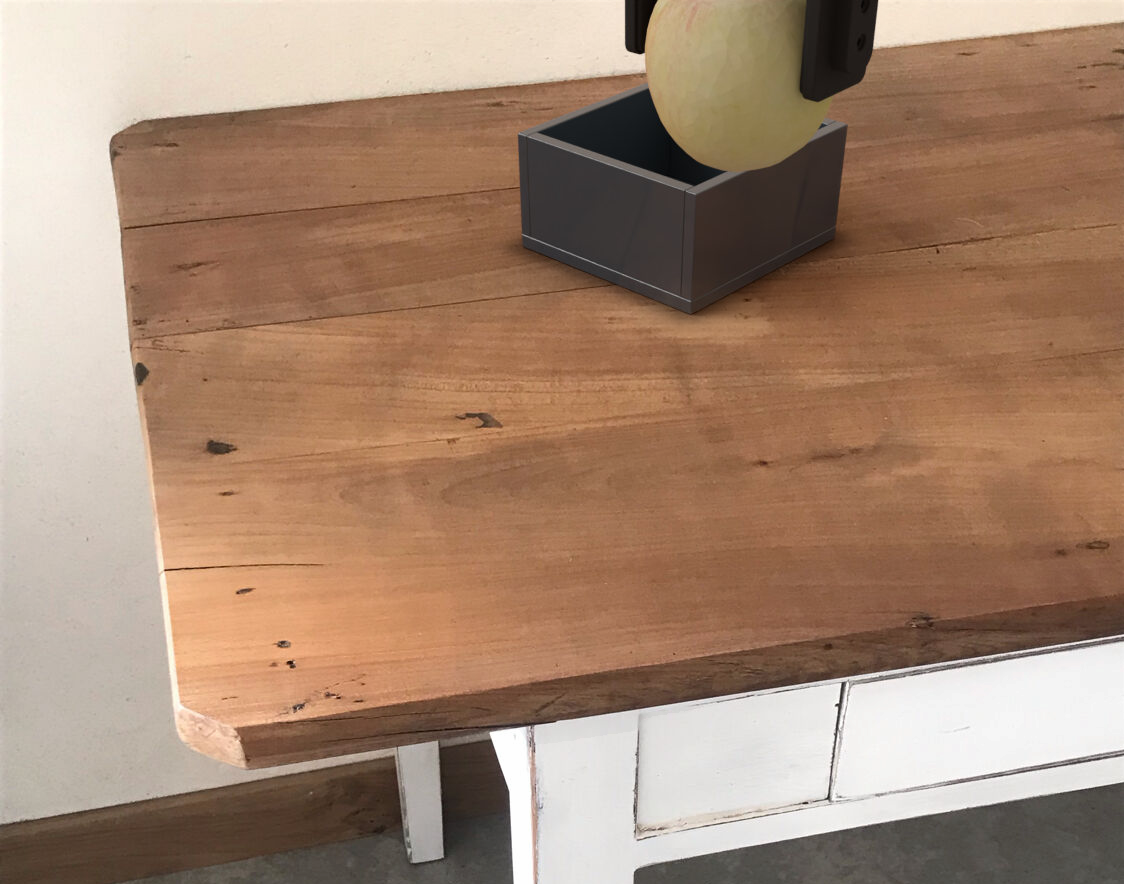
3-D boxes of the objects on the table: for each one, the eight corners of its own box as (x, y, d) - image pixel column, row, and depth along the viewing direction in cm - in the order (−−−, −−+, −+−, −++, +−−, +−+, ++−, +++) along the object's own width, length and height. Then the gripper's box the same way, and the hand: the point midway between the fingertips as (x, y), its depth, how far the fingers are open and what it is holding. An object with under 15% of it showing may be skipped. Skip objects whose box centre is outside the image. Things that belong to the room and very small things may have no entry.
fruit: (875, 156, 54) (902, -78, 48) (739, 211, 50) (752, -32, 45) (736, 107, 58) (747, -113, 52) (603, 155, 55) (600, -74, 49)
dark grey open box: (835, 238, 85) (848, 123, 80) (690, 314, 78) (696, 194, 73) (667, 181, 92) (671, 72, 87) (521, 246, 85) (517, 132, 80)
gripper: (1120, -602, 37) (999, 88, 49) (634, -579, 46) (634, 0, 58) (969, -594, 33) (878, 152, 46) (472, -571, 42) (508, 47, 54)
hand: (741, 63), depth 52 cm, fingers closed on fruit, 7 cm apart
